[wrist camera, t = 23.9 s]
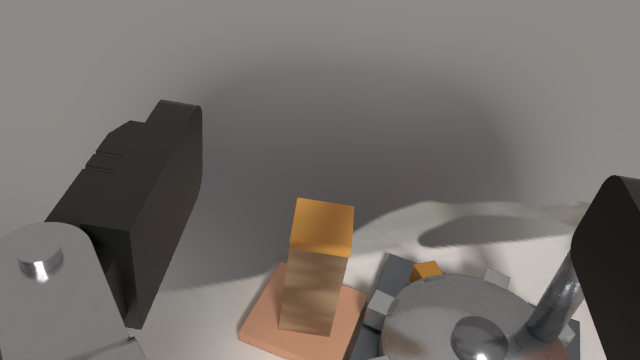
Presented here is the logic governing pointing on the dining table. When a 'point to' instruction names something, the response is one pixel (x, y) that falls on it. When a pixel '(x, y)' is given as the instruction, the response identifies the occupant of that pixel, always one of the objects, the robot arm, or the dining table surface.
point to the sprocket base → (396, 281)
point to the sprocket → (474, 317)
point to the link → (316, 266)
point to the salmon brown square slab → (298, 348)
